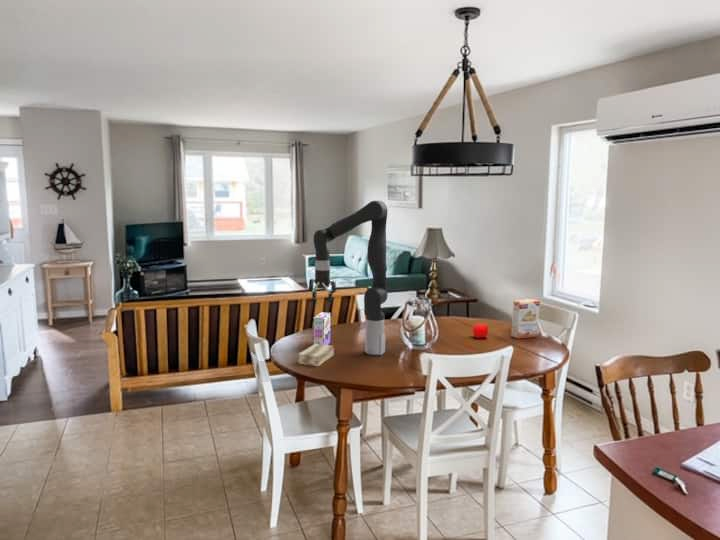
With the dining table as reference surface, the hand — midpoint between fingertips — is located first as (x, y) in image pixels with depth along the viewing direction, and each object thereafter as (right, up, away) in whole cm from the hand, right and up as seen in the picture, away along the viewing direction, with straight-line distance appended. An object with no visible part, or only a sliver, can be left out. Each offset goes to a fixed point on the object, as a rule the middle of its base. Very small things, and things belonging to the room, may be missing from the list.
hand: (322, 300), depth 265 cm
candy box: (0, -24, +4) cm, 24 cm away
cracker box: (+112, -23, +27) cm, 118 cm away
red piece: (+87, -23, +24) cm, 93 cm away
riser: (-1, -28, -18) cm, 33 cm away
